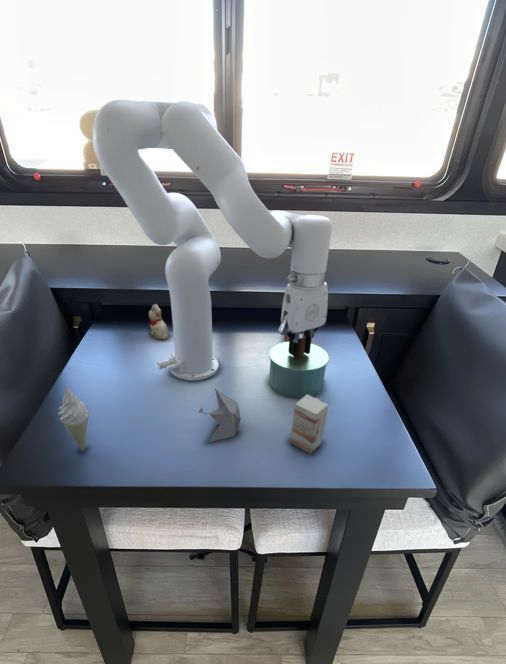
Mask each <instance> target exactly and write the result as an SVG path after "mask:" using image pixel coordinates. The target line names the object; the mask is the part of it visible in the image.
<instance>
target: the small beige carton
mask: <svg viewBox="0 0 506 664" xmlns="http://www.w3.org/2000/svg"><path fill="white" fill-rule="evenodd" d="M294 404H295V405H294V409H293V410H294V411H293V412H294V413H293V419H292V425H291V433H290V438H289V439H290V440H289V442H290V444H291V445H294V446H295V447H297V448H299V449H300V450H302V451H304V452H306V453H308V454H311V453H313V451H315V450H316V449H317V448H318V447H319V446H321V444H322V441H323V437H324V432H325V426H326V422H327V421H326V420H327V417H328V416H327V415H328V411H329V406H330V405H329V404H328V403H327V402H325V401H322V400H321V399H319V398H317V397H315V396H310V395H308V394H307V395H305V396H304V397H303V398H299V400H298V401H296V402H295V403H294Z"/></svg>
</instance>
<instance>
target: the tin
mask: <svg viewBox="0 0 506 664" xmlns="http://www.w3.org/2000/svg"><path fill="white" fill-rule="evenodd" d="M269 361H270V363H269V375H268V377H269V378H268V379H269V380H268V382H269V386H270V387H271V389H272V390H273V391H275V393H278V394H279V395H281V396H284V397H288V398H292V399H301V398H303V397H304V396H305V395H307V394H308V395H310V396H312V397H315V396H316V395H318V394H319V393H320V392H321V391H322V389H323V386H324V381H325V375H326V369H327V368H326V367H327V365H326V366H325V367H323V368H321V369H319V370H316V371H311V372H296V371H290V370H286V369H283V368H281V367H279V366H277V365H275V364H274V363H273V362H272V361H271V360H269Z"/></svg>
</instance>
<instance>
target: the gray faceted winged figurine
mask: <svg viewBox="0 0 506 664" xmlns="http://www.w3.org/2000/svg"><path fill="white" fill-rule="evenodd" d="M214 391H215V395H216V400H217V404H218V408H217V409H215V410H213V411H212V412H210V413H207V412H204V411H203V407H201V408H200V409H199V410H198V411H197V413H200V414H205V415H209V416H210V417H211V418H212V419H213V420H214V421H215V422H216V423H217V424H218V425H219V426H218V427H217V428H216V430H215V431H214V433H213V434H212V436H211V438H210V439H209V441H208V443H213V442H216V441H220V440H224V439H227V438H232V437H235V436H236V433H237V431H238V429H239V426H240V422H241V412H240V406H239V403H238V401H237V400H235V399H233V398H231V397H230V396H229V395H227V394H225V393H223V392H221V390H218V389H217V388H214Z"/></svg>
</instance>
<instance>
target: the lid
mask: <svg viewBox="0 0 506 664" xmlns="http://www.w3.org/2000/svg"><path fill="white" fill-rule="evenodd" d="M298 341H299V342H300V350H299V356H298V357H297V358H296V357H294V356H293V355H291V354H290V353H289V352H288V350H289V342H287V341H283V342H280V343H277V344H275V345H273V346H272V347H271V348H270V349H269V351H268V358H269V361H272V362H273V363H274V364H275V365H277V366H279V367H281V368H283V369H286V370H290V371H296V372H311V371H316V370H319V369H321V368H323V367H325V366H326V367H327V365H328V364H329V360H330V356H329V354H328V352H327V351H326V350H325V349H324V348H322V347H320V346H319V345H316V344H314V343H311V348H310V353H309V354H306V353H305V345H306V335H304V334H300V335H299V340H298Z"/></svg>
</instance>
